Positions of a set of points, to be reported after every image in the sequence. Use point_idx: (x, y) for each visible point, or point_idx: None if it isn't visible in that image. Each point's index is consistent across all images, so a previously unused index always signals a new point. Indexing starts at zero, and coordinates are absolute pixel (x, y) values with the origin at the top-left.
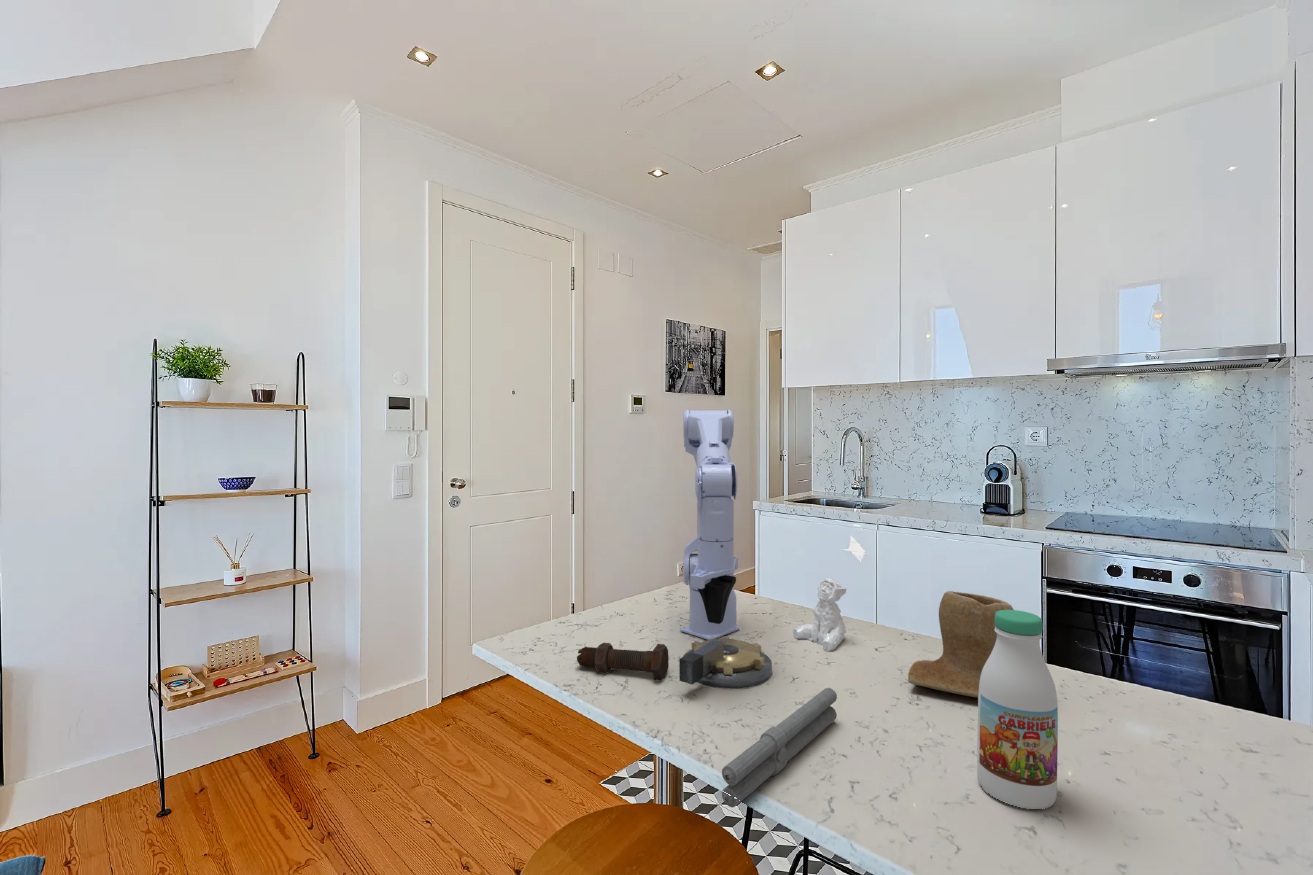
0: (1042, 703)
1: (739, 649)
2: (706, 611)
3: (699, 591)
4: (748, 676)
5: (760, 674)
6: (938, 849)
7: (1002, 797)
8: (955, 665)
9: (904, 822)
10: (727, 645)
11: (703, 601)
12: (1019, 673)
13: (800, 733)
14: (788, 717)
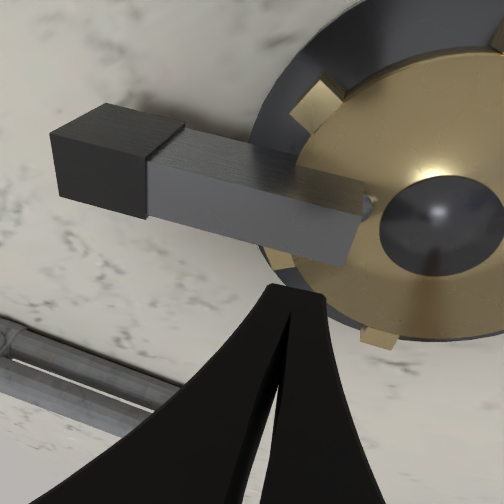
0: None
1: (462, 273)
2: (240, 328)
3: (83, 470)
4: (301, 288)
5: (329, 316)
6: (22, 437)
7: None
8: None
9: (36, 426)
10: (496, 226)
11: (185, 385)
12: None
13: (78, 381)
14: (30, 397)
